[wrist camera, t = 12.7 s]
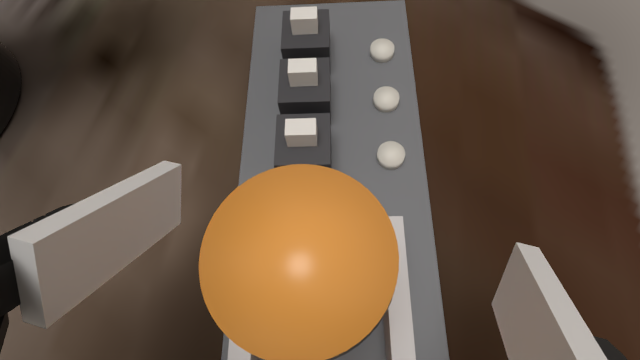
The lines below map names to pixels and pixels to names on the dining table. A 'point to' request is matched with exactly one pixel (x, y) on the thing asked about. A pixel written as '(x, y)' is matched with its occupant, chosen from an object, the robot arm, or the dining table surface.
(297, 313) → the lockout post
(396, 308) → the breaker board
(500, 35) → the dining table surface
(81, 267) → the robot arm
